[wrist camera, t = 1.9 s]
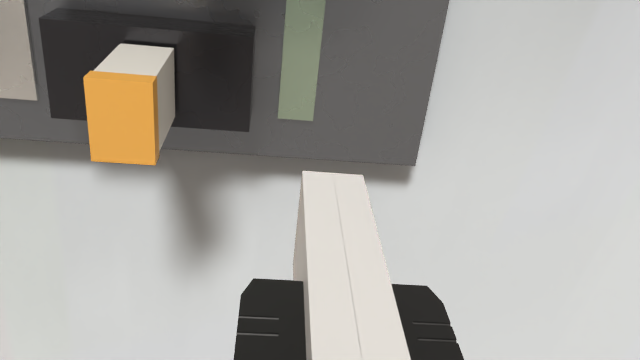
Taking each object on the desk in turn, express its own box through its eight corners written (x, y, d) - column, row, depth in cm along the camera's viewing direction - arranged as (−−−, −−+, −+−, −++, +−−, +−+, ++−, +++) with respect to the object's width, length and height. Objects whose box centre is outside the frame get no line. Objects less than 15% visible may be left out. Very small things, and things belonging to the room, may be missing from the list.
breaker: (123, 113, 22) (90, 161, 19) (118, 41, 21) (83, 77, 17) (176, 117, 23) (155, 165, 19) (175, 46, 21) (152, 82, 18)
